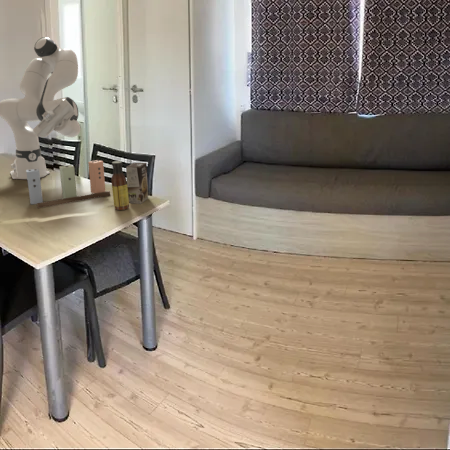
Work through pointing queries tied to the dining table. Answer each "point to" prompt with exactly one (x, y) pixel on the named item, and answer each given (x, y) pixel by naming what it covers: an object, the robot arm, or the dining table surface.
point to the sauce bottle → (119, 187)
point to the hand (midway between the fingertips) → (45, 114)
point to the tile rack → (73, 199)
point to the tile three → (96, 176)
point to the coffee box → (137, 182)
